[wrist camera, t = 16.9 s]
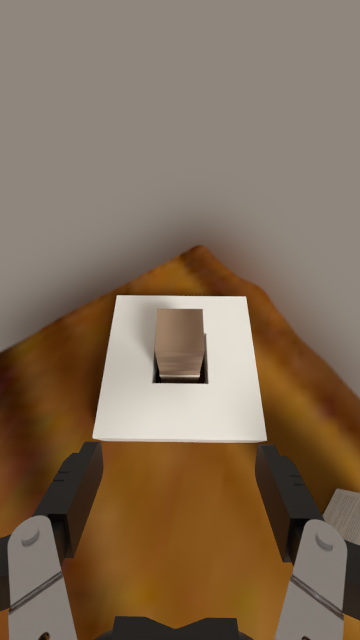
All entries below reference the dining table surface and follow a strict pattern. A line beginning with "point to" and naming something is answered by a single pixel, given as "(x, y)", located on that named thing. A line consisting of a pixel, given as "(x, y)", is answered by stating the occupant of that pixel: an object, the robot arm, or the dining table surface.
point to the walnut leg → (179, 345)
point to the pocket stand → (180, 399)
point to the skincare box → (345, 514)
